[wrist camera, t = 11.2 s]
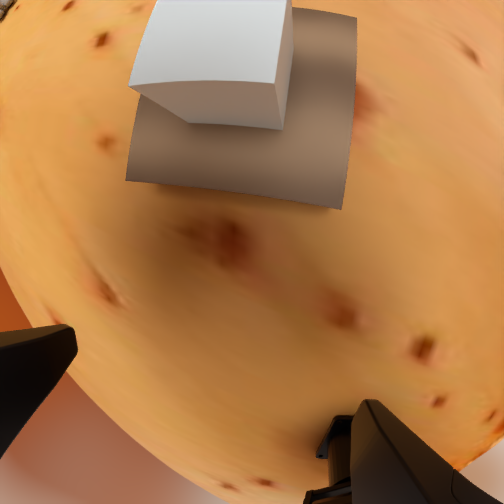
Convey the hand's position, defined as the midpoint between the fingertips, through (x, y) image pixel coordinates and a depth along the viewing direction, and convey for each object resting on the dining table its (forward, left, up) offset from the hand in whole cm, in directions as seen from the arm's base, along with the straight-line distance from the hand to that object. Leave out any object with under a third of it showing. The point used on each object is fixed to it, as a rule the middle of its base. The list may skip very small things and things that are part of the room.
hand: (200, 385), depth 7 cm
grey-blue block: (+11, +2, -8) cm, 14 cm away
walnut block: (+11, +2, -12) cm, 16 cm away
